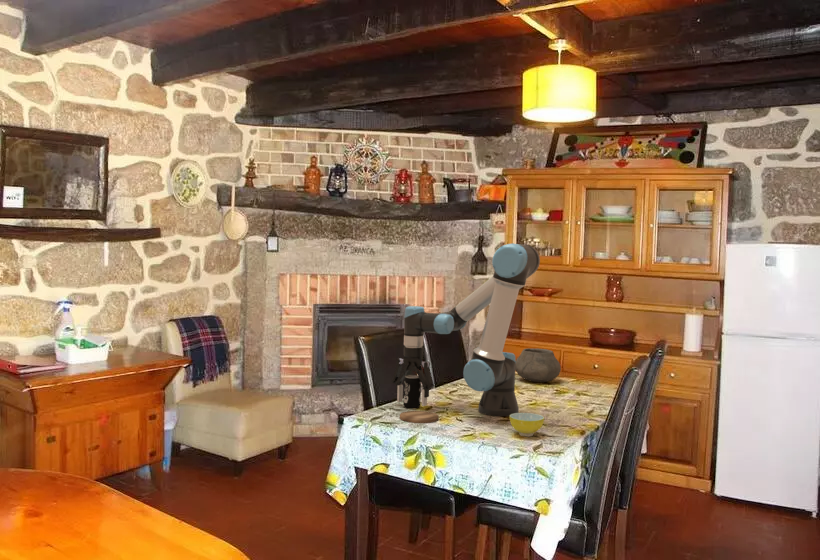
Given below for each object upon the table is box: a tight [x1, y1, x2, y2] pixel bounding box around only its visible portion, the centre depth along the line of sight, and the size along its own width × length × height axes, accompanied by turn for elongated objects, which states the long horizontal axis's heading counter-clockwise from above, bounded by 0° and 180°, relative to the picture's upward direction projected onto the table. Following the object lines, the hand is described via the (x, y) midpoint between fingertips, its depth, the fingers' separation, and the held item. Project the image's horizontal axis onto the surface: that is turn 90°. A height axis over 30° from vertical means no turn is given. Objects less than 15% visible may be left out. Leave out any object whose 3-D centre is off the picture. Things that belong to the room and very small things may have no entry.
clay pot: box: [515, 347, 562, 383], centre depth 335 cm, size 22×21×15 cm
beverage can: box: [402, 374, 422, 409], centre depth 271 cm, size 7×7×12 cm
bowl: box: [509, 412, 545, 437], centre depth 234 cm, size 11×12×6 cm
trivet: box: [399, 410, 440, 424], centre depth 253 cm, size 14×14×1 cm
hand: (411, 403), depth 271 cm, fingers open, 10 cm apart
